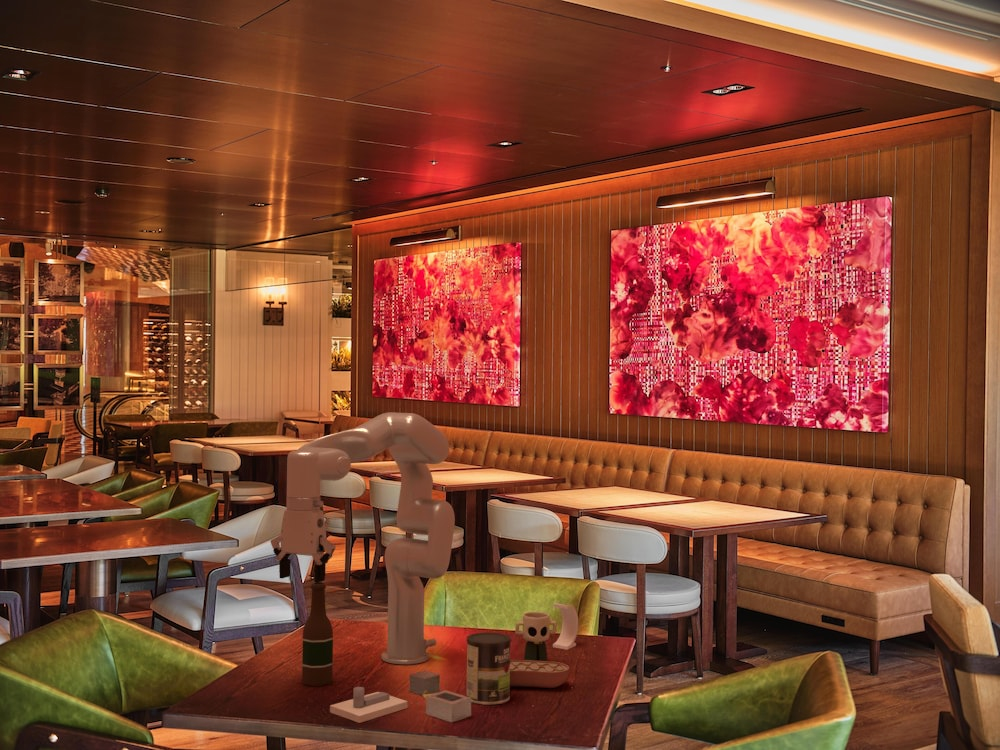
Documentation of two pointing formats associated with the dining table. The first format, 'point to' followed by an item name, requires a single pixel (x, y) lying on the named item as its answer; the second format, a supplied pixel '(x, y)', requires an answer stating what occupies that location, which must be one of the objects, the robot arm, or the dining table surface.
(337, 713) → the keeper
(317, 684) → the beer bottle
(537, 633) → the character mug
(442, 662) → the dining table surface
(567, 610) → the headphone stand
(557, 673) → the mitochondrion model
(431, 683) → the block
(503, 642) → the coffee can
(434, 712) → the link
